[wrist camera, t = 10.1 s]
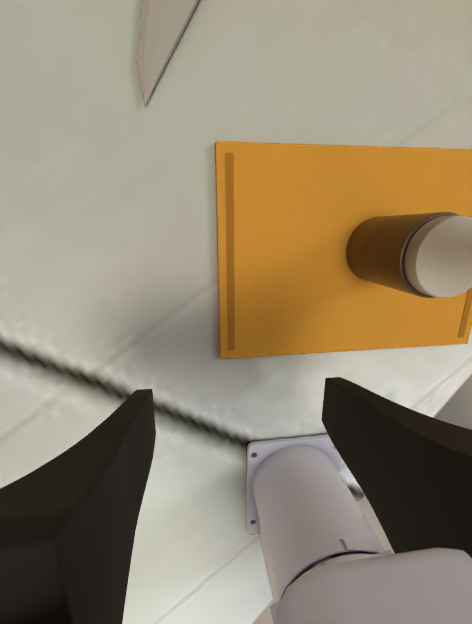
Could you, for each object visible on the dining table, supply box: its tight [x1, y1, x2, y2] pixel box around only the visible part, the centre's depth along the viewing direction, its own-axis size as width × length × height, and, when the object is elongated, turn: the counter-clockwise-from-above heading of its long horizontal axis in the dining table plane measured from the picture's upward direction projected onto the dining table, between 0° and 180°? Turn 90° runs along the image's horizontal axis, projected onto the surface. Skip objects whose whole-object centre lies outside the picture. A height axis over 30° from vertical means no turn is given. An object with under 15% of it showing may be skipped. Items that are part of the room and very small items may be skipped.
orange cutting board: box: [215, 142, 472, 359], centre depth 21 cm, size 14×20×1 cm
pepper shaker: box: [346, 212, 472, 298], centre depth 17 cm, size 4×4×6 cm
